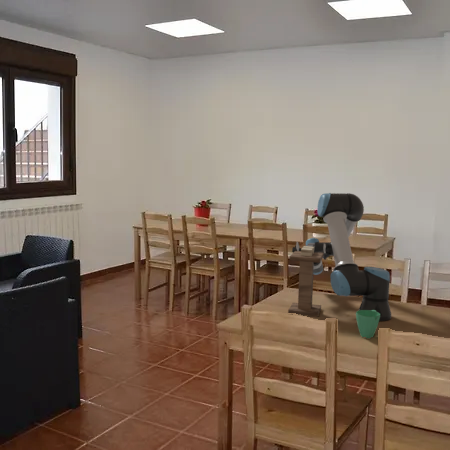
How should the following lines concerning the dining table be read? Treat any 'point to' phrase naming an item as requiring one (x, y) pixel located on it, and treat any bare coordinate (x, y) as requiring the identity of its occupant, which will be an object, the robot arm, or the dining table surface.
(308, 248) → the bar
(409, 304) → the dining table surface
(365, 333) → the mug
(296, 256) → the stand
